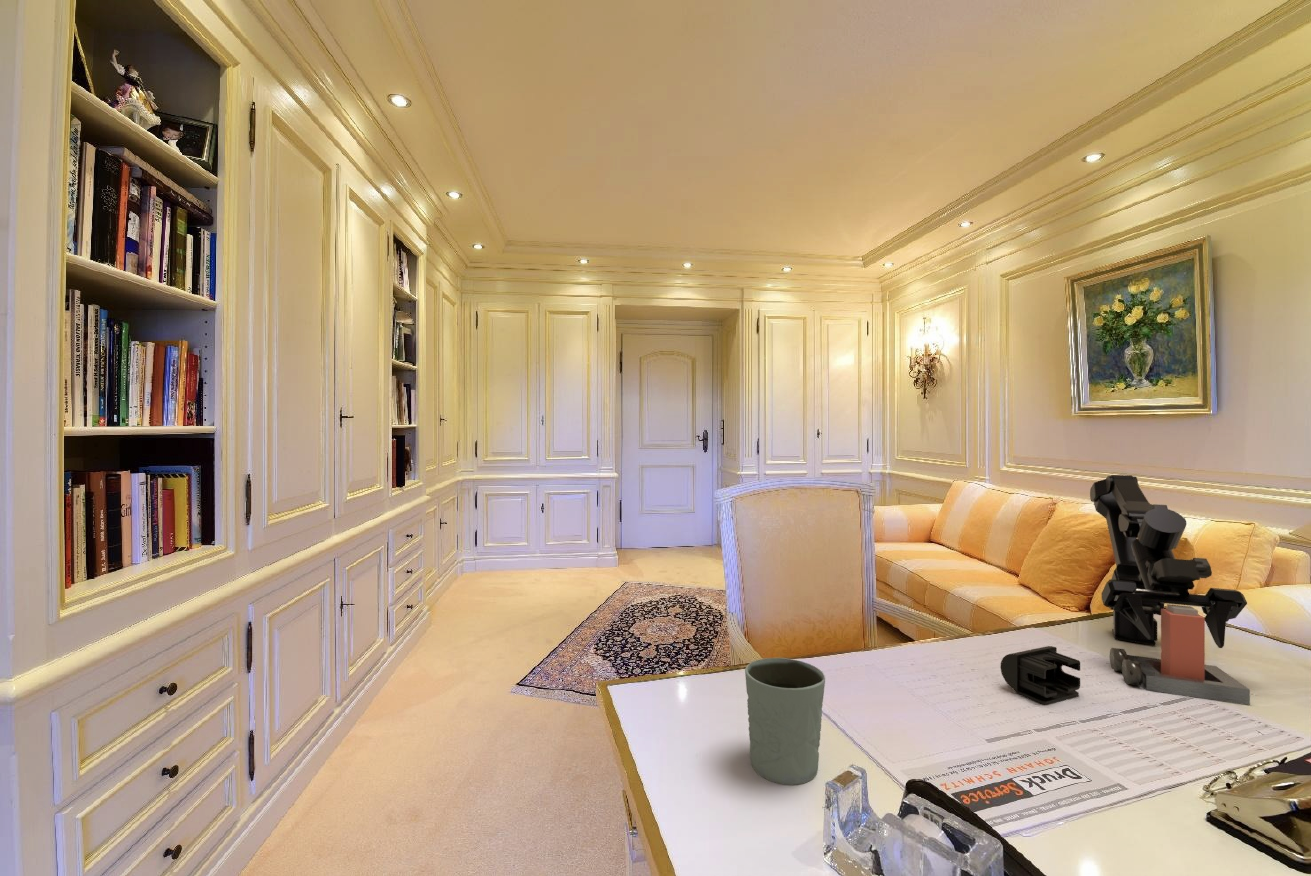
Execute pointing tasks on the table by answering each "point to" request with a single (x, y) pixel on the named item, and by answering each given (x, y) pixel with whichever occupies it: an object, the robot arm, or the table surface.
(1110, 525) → the robot arm
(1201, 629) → the reddish-brown tall block
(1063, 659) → the end cap
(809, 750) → the grey cup
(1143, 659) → the chassis
